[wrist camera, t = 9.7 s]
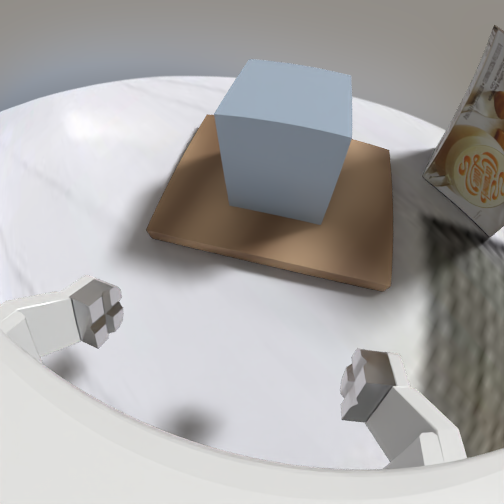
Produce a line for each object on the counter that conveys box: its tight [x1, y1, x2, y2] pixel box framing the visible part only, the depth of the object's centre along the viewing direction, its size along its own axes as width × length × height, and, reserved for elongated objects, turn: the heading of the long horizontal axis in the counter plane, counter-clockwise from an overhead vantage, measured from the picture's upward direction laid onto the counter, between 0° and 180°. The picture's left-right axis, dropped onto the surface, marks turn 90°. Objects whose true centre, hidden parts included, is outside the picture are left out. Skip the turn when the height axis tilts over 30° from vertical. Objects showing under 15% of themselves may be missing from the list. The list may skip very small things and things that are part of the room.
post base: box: [146, 115, 393, 292], centre depth 17 cm, size 16×12×7 cm
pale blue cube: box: [214, 59, 352, 225], centre depth 15 cm, size 6×6×8 cm
